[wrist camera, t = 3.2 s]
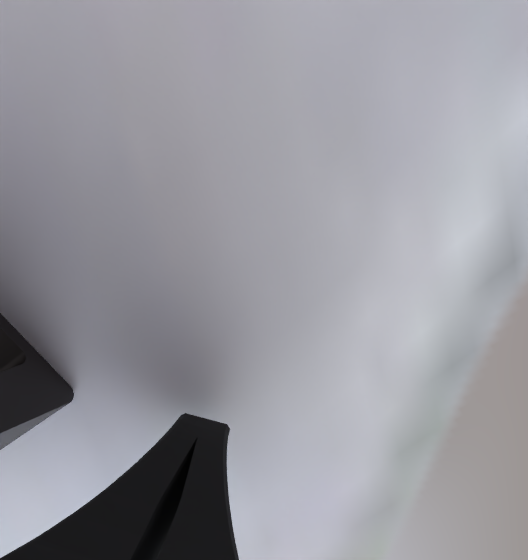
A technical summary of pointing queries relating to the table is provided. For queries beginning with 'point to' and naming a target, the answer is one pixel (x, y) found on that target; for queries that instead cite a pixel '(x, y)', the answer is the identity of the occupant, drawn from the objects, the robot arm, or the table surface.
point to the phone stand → (26, 386)
